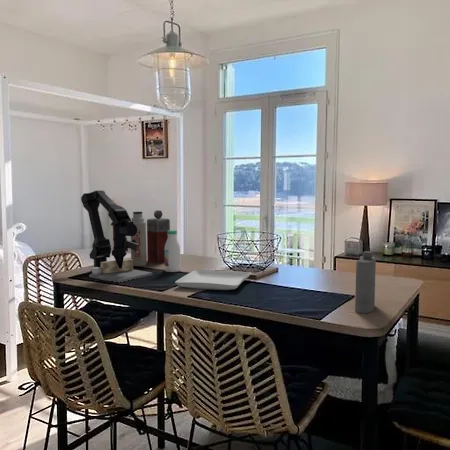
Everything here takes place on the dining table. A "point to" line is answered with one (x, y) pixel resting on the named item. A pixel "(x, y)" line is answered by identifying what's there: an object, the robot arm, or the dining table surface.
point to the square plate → (213, 279)
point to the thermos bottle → (139, 240)
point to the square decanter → (157, 237)
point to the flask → (365, 283)
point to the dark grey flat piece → (118, 275)
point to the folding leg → (116, 266)
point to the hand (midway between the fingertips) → (120, 268)
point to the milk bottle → (172, 252)
